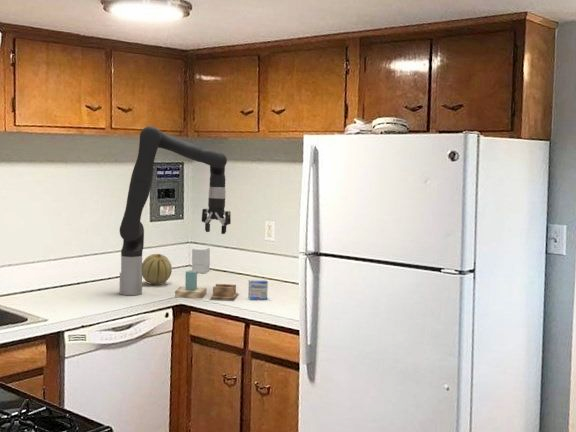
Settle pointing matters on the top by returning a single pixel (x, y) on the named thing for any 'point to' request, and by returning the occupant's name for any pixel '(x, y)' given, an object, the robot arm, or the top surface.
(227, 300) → the mat
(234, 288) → the brown wooden box
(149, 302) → the top surface
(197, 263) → the supplement box
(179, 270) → the top surface
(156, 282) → the cantaloupe
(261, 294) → the medicine box
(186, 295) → the light wooden block
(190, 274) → the teal block
